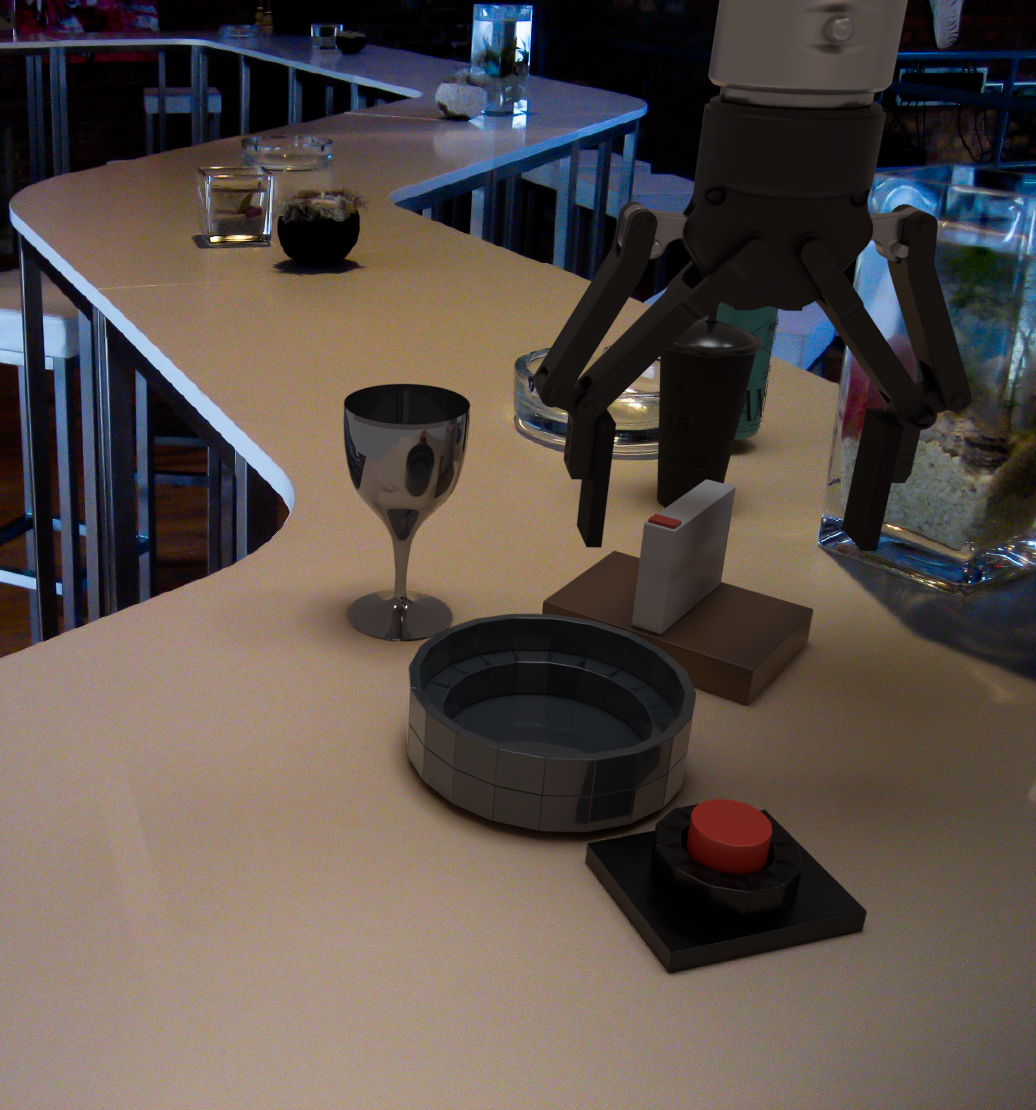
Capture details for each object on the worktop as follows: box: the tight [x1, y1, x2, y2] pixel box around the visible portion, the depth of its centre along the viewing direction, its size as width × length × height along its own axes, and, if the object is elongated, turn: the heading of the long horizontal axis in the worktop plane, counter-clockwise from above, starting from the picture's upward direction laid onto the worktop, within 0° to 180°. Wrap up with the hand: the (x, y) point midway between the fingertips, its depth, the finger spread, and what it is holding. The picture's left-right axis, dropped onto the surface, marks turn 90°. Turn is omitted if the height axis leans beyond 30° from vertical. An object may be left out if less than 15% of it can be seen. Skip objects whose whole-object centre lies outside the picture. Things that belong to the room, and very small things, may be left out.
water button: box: [687, 798, 772, 875], centre depth 60 cm, size 4×4×2 cm
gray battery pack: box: [632, 479, 736, 634], centre depth 82 cm, size 9×2×7 cm, turn 140°
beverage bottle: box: [703, 302, 780, 441], centre depth 113 cm, size 6×7×20 cm
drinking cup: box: [656, 306, 762, 508], centre depth 101 cm, size 8×8×20 cm
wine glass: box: [342, 383, 471, 642], centre depth 84 cm, size 8×8×15 cm
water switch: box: [584, 803, 868, 975], centre depth 61 cm, size 10×8×3 cm
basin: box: [405, 613, 697, 833], centre depth 71 cm, size 15×15×5 cm
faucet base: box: [541, 550, 814, 707], centre depth 84 cm, size 14×10×2 cm
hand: (723, 538), depth 66 cm, fingers open, 13 cm apart
